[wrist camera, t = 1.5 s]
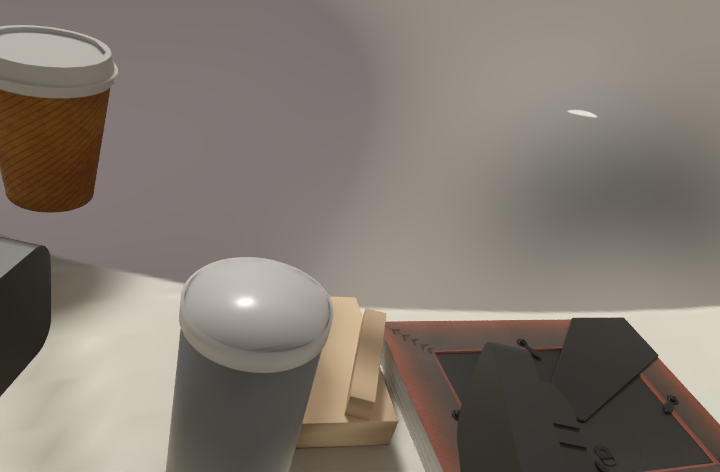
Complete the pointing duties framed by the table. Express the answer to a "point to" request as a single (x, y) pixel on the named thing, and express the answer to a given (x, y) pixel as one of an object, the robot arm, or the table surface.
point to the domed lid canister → (245, 365)
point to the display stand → (349, 383)
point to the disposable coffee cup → (52, 115)
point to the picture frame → (570, 376)
